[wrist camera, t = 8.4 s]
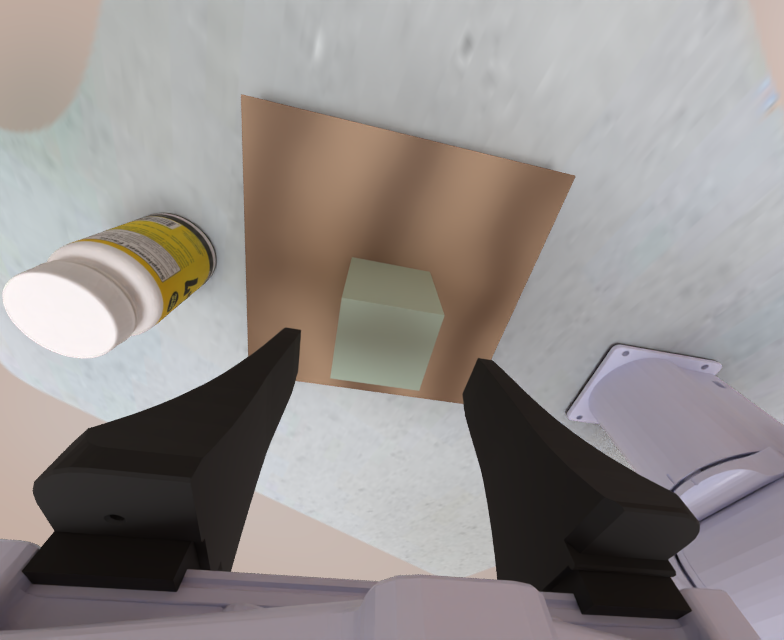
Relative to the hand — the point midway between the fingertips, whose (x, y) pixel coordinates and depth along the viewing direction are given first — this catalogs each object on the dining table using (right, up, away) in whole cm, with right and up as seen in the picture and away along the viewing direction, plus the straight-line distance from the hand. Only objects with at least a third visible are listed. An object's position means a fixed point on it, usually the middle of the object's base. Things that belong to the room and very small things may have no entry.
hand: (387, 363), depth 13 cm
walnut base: (0, +5, +8) cm, 9 cm away
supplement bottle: (-13, +6, +7) cm, 16 cm away
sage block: (0, +3, +6) cm, 7 cm away
